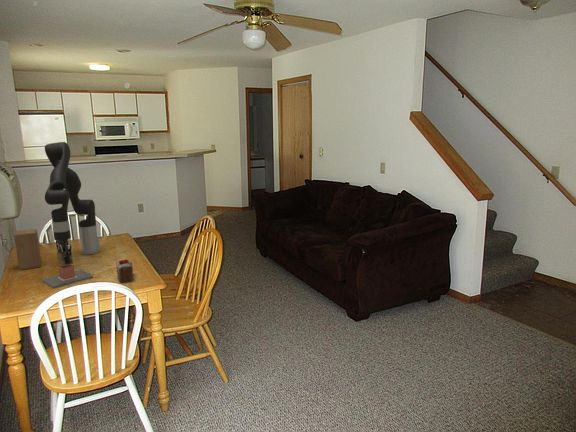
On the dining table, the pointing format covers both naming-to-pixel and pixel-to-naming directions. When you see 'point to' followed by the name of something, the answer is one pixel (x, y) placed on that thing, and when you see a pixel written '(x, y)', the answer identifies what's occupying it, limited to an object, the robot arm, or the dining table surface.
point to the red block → (66, 271)
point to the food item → (124, 270)
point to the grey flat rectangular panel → (57, 281)
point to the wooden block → (27, 249)
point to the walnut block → (63, 258)
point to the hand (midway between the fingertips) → (65, 262)
